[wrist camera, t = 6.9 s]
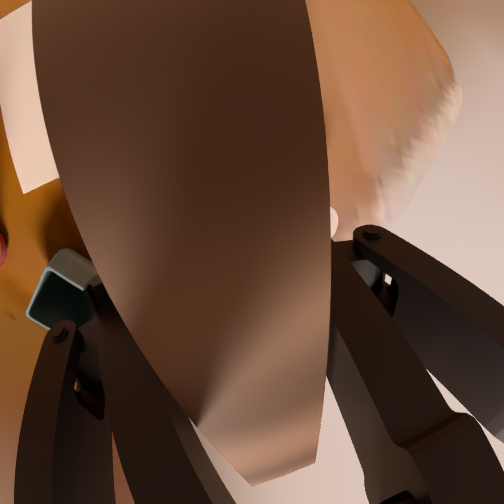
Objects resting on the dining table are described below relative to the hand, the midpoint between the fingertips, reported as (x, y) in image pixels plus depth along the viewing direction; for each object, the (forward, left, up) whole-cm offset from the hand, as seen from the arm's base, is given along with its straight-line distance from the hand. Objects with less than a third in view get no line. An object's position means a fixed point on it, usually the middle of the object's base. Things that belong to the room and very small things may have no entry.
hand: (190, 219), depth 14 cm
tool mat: (-15, -15, -21) cm, 30 cm away
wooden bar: (0, 0, -2) cm, 2 cm away
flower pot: (+11, -17, -21) cm, 29 cm away
